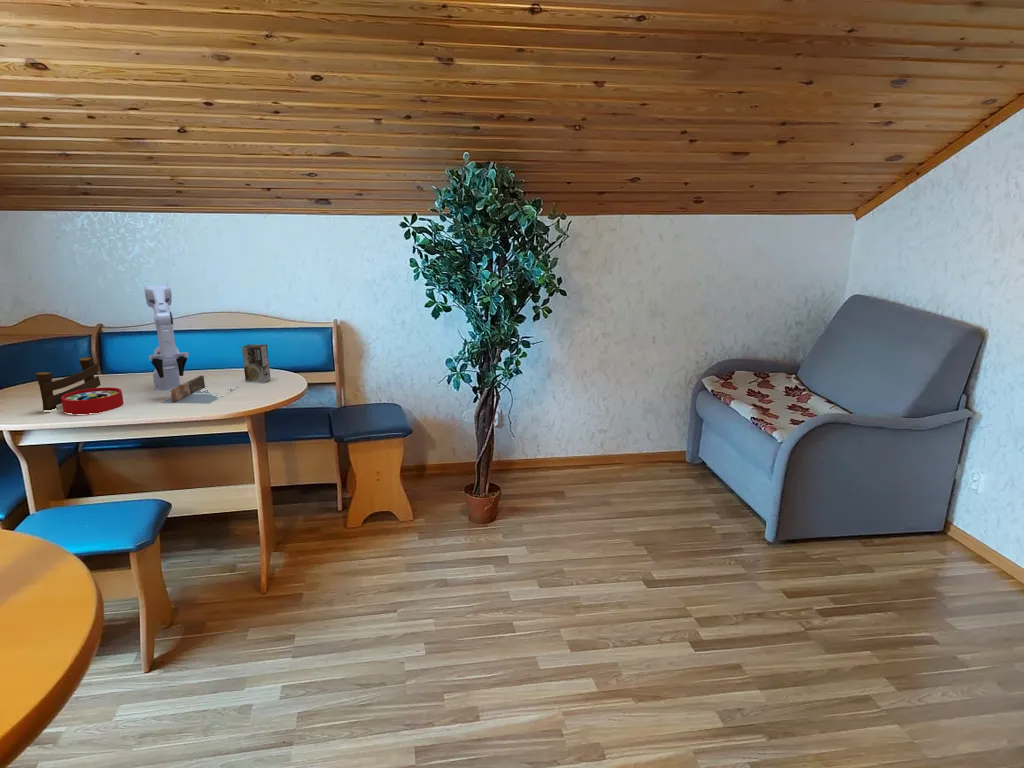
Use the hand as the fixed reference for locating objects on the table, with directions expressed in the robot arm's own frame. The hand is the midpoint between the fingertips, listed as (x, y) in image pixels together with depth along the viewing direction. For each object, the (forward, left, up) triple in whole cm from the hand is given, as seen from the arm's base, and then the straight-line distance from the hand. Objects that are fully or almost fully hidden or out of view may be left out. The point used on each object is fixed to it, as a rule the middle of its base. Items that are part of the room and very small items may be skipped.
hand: (171, 376), depth 271 cm
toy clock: (-25, -12, -10) cm, 30 cm away
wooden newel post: (+2, +1, -9) cm, 9 cm away
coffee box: (+20, +32, -10) cm, 39 cm away
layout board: (+7, +7, -10) cm, 14 cm away
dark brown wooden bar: (+2, +13, -9) cm, 16 cm away
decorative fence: (-40, -3, -10) cm, 42 cm away
